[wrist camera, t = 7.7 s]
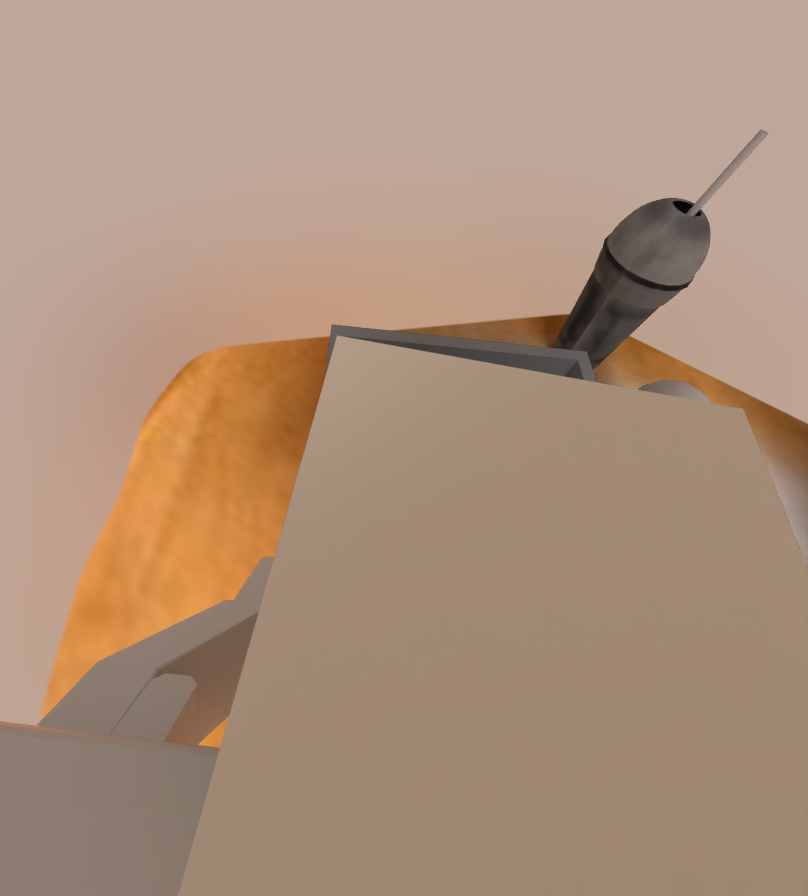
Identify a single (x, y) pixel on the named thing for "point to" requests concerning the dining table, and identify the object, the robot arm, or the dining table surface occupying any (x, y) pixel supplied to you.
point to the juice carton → (518, 650)
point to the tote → (478, 351)
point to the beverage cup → (642, 269)
